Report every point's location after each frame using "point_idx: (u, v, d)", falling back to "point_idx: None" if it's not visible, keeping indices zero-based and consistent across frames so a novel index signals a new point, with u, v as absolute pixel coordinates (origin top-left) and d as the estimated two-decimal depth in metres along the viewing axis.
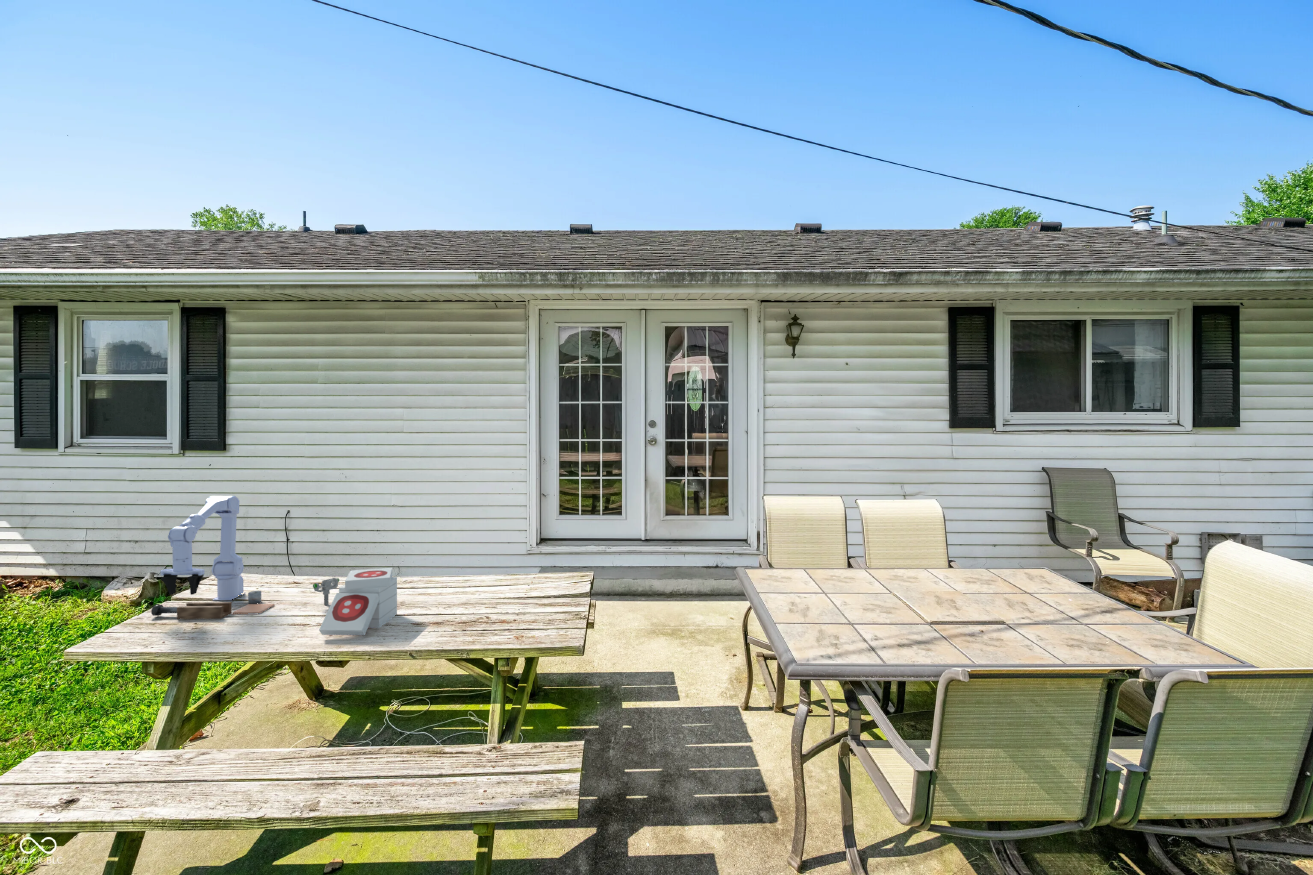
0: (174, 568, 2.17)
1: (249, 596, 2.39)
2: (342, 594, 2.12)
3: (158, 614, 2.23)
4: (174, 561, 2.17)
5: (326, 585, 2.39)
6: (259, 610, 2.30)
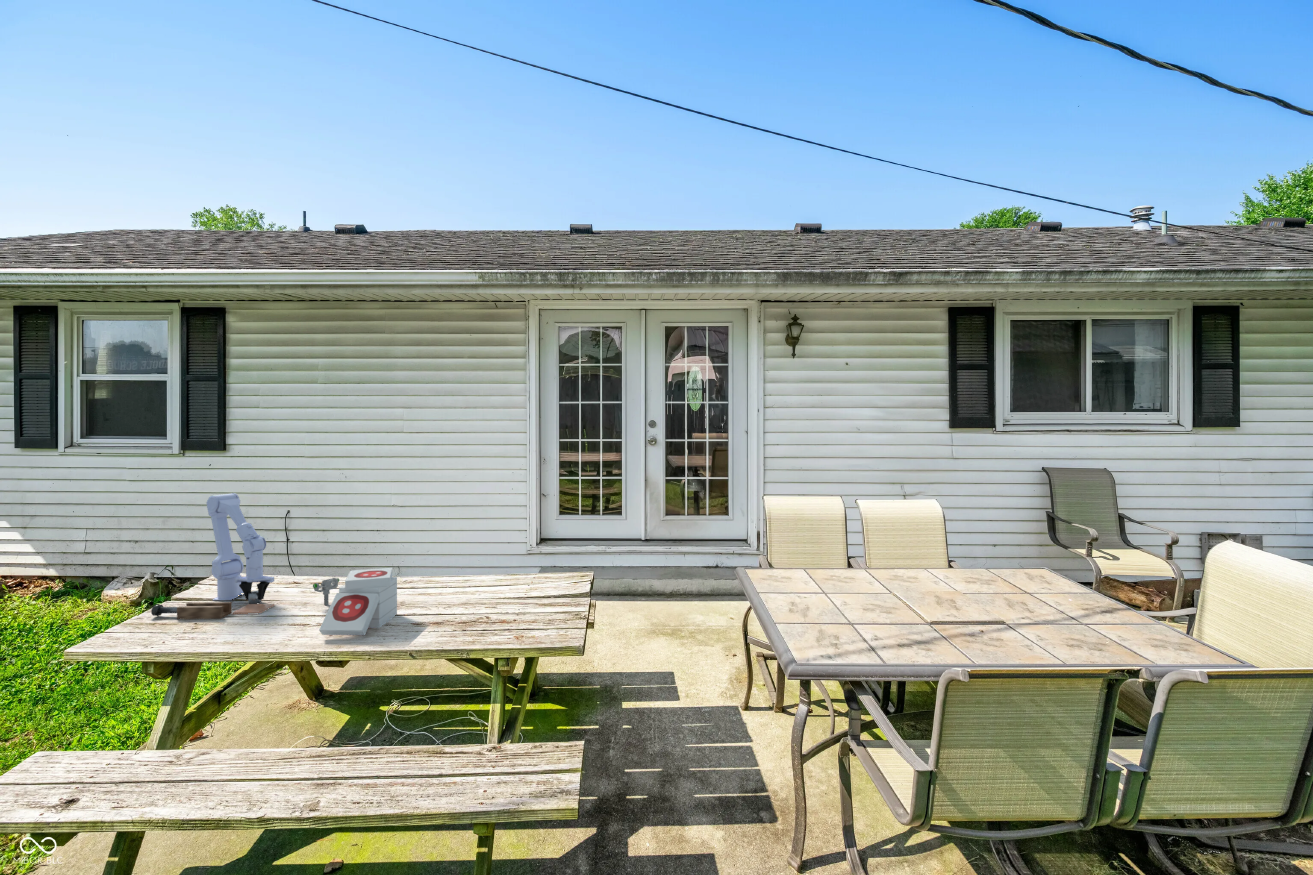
0: (248, 576, 2.38)
1: (249, 596, 2.39)
2: (342, 594, 2.12)
3: (158, 614, 2.23)
4: (248, 570, 2.38)
5: (326, 585, 2.39)
6: (259, 610, 2.30)
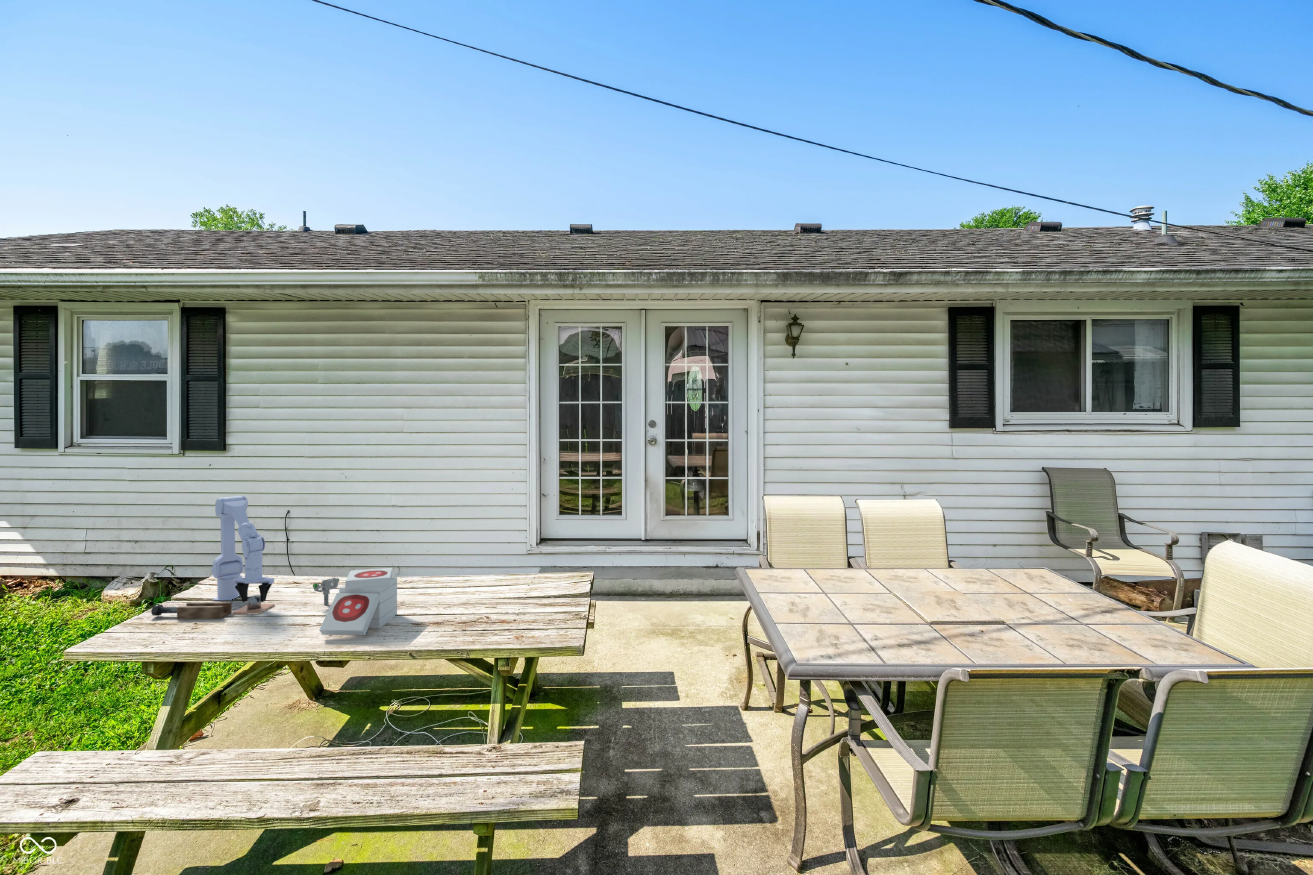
0: (246, 577, 2.29)
1: (248, 601, 2.30)
2: (342, 594, 2.12)
3: (158, 614, 2.23)
4: (247, 570, 2.29)
5: (326, 585, 2.39)
6: (259, 610, 2.30)
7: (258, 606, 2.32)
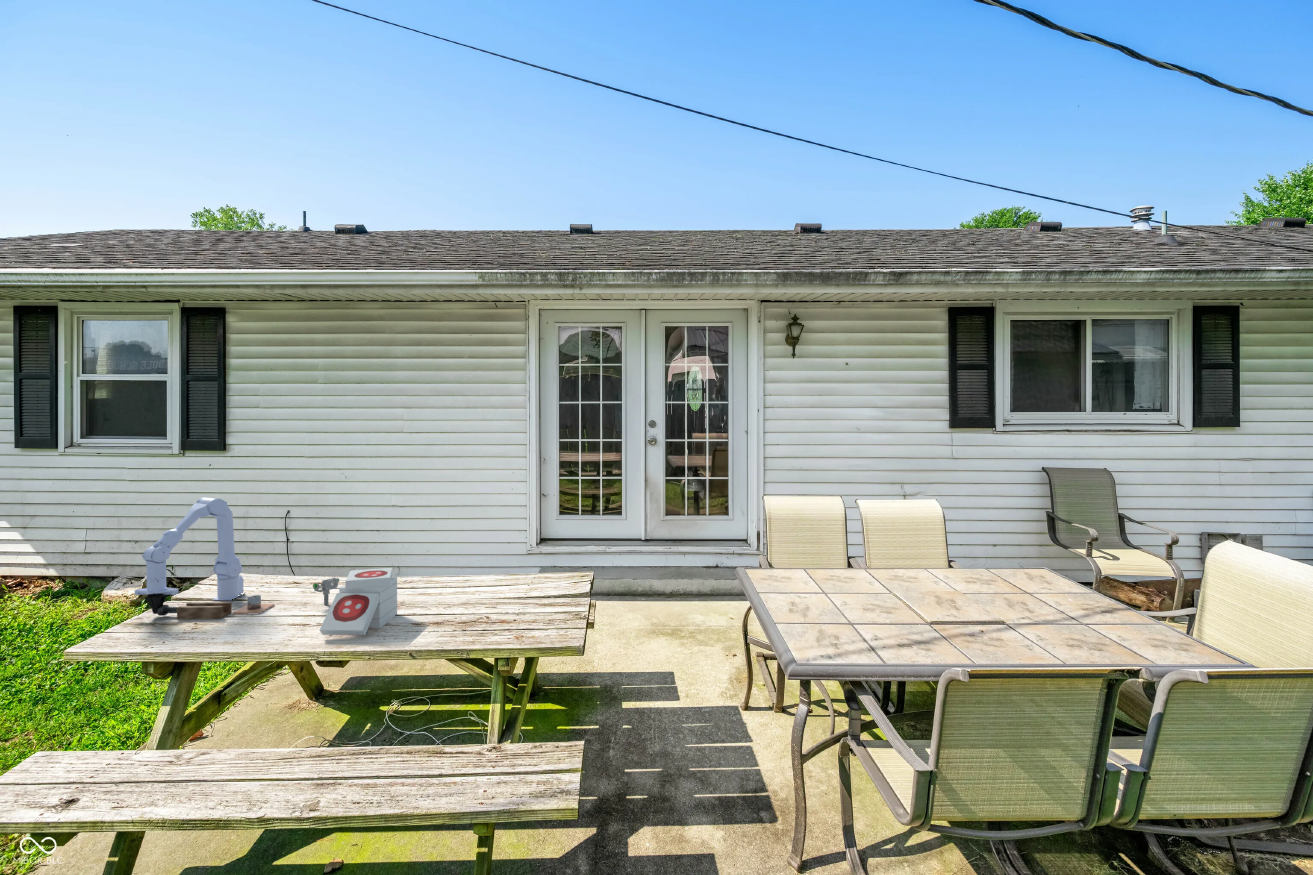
0: (148, 588, 2.20)
1: (248, 601, 2.30)
2: (342, 594, 2.12)
3: (164, 614, 2.23)
4: (148, 581, 2.20)
5: (326, 585, 2.39)
6: (259, 610, 2.30)
7: (258, 606, 2.32)
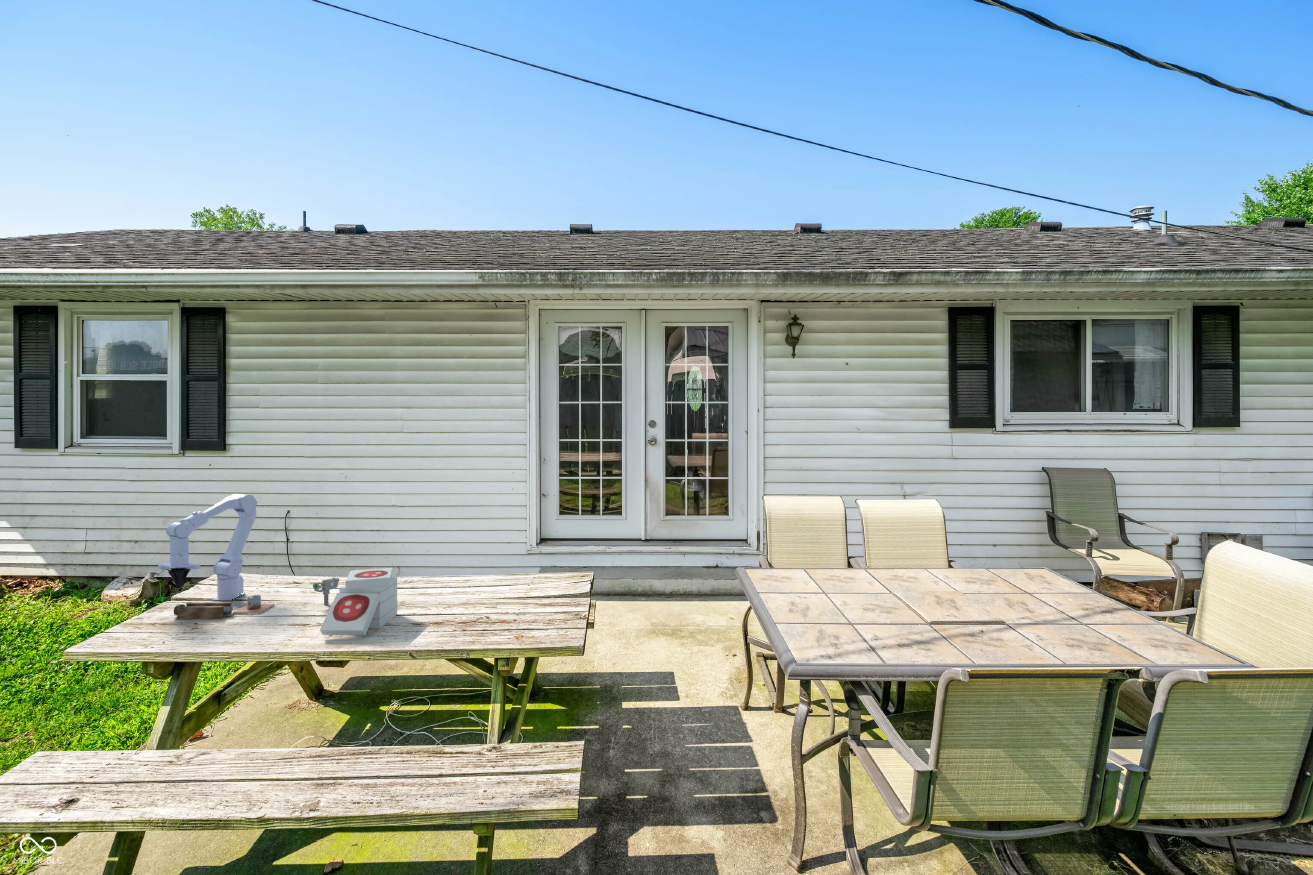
0: (171, 562, 2.27)
1: (248, 601, 2.30)
2: (342, 594, 2.12)
3: None
4: (171, 555, 2.27)
5: (326, 585, 2.39)
6: (259, 610, 2.30)
7: (258, 606, 2.32)
